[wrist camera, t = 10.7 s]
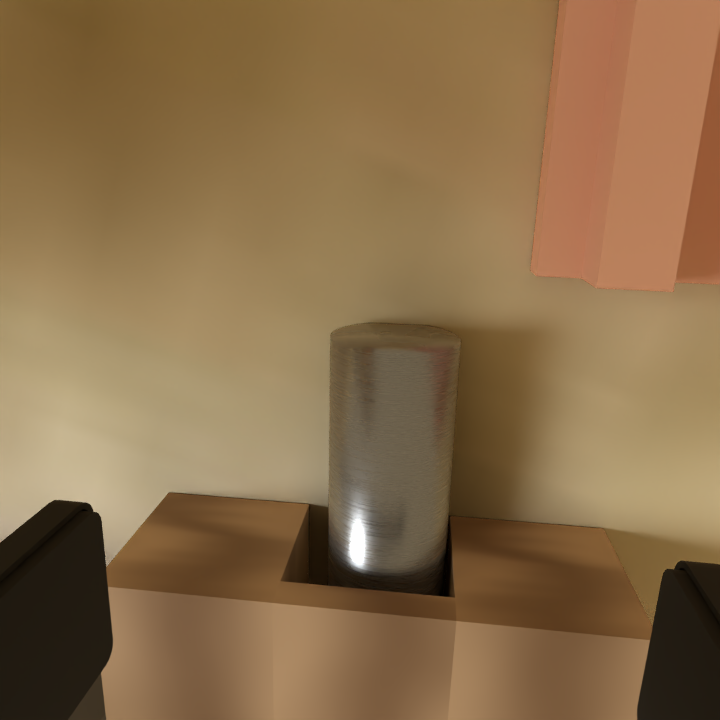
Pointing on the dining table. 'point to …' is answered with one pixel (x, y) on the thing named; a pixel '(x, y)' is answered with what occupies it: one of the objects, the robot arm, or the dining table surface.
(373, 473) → the axle
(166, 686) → the beam
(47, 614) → the robot arm
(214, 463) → the dining table surface
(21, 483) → the dining table surface
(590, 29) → the v block
